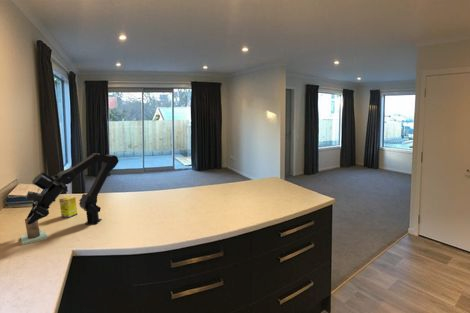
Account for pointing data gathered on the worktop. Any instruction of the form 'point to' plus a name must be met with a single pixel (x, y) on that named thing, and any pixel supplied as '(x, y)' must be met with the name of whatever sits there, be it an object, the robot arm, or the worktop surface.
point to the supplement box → (68, 206)
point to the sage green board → (26, 240)
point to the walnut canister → (32, 229)
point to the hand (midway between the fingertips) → (27, 221)
